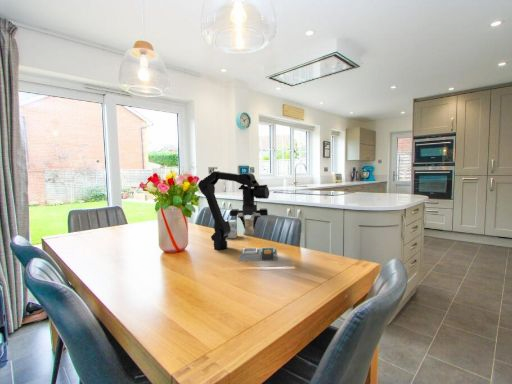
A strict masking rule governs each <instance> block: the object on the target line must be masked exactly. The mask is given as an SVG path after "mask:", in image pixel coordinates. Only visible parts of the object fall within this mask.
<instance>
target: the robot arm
mask: <svg viewBox="0 0 512 384" xmlns="http://www.w3.org/2000/svg"><path fill="white" fill-rule="evenodd" d="M219 180H222V181H229V182H230V181H231V182H236V183H238V184H240V186H239V187H238V191H239V190H240V191H241V190H242V207H241V208H242V210H240V209H239V208H232V209H231V210H230V211H229V216H230V217H237V218H239V219H240V221H241V223H242V226H243V228H244V229H245V219H246V217H245V216H253V215H254V216H253V221H254V224H253V229H254V230H255V228H256V223H257V221H258V218H261V217H262V216H268V215H269V214H268V213H269V211H268V208H267V207H266V208H265V207H264V208H263V207H262V208H261V207H260V208H259V209H258V208H257V207H258V206H257V204H255V199H259V200H261V199H264V200H268V199H269V198H270V197H269V196H270V190H269V187H268V184H260V183H259V182H258V180H256V176H255V175H254V173H252V172H250V173H249V172H247V173H232V172H224V171H219V170H216V171H215V170H214V171H212V172H211V173H210V174H208V175H207V176H206V177H204V178H203V179H201V180H199V182H198V184H197V185H198V186H197V187H198V189H199V191H200V193H201V194H202V195H203V196H204V197H205V199H206V202H207V204H208V207H209V210H210V213H211V216H212V219H213V222H214V225H213V229H214V232H213V234H212V235H211V237H210V239H211V240H212V241H213V250H215V251H223V250H228V246H229V243H228V240H227V239H228V238H227V237H228V235H229V233H230V231H231V229H230V228H231V227H230V225H229V221H225V219H224V216H223V214H222V212H221V209H220V206H219V203H218V201H217V200H218V199H217V197H216V194H215V192H216V190H215V189H216V184H217V183H218V181H219Z"/></svg>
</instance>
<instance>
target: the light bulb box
mask: <svg viewBox="0 0 512 384" xmlns="http://www.w3.org/2000/svg"><path fill="white" fill-rule="evenodd" d="M224 220H225V219H224ZM225 221H229V225H230V227H231V228H230V229H231V231H230V233H229V235H228V237H227V238H226V239H236V238H237V236H238V222H237V219H226V220H225Z"/></svg>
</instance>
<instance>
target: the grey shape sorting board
mask: <svg viewBox="0 0 512 384" xmlns="http://www.w3.org/2000/svg"><path fill="white" fill-rule="evenodd" d="M264 250H271V254H264ZM277 251H278V250H277V248H275V247H261V248H258V247H243V249H241V252H240V255H239V257H238V262H277V261H278V252H277Z"/></svg>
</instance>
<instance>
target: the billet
mask: <svg viewBox="0 0 512 384" xmlns="http://www.w3.org/2000/svg"><path fill="white" fill-rule="evenodd" d="M253 224H254V218H245V228H244V233H245V235H254V232H255V228H254V229H253Z"/></svg>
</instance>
